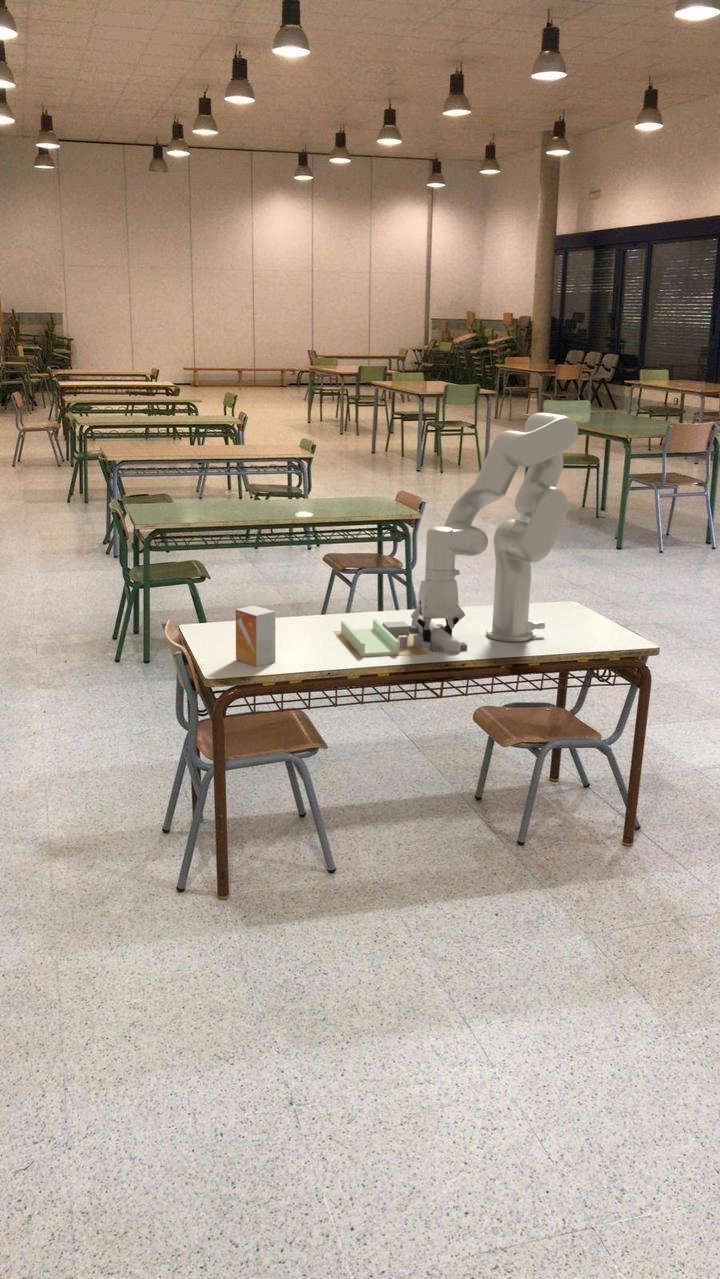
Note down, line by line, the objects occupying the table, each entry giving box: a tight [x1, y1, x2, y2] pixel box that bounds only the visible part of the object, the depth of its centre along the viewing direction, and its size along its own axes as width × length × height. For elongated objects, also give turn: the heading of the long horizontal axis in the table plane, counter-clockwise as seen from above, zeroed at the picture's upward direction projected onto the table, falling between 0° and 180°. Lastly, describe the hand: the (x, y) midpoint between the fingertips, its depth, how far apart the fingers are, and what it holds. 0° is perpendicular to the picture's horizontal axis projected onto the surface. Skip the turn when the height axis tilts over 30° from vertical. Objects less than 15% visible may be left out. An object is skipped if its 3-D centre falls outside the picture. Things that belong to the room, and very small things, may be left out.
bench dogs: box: [398, 634, 423, 649], centre depth 277 cm, size 6×2×3 cm, turn 105°
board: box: [332, 630, 434, 659], centre depth 282 cm, size 20×25×1 cm
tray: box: [340, 619, 399, 657], centre depth 280 cm, size 10×22×3 cm, turn 14°
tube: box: [411, 614, 461, 654], centre depth 284 cm, size 5×5×25 cm
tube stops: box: [409, 623, 468, 653], centre depth 285 cm, size 9×20×2 cm, turn 14°
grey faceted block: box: [381, 621, 410, 636], centre depth 290 cm, size 6×5×2 cm
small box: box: [235, 605, 276, 668], centre depth 266 cm, size 8×6×13 cm
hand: (436, 641), depth 285 cm, fingers closed on tube, 4 cm apart
